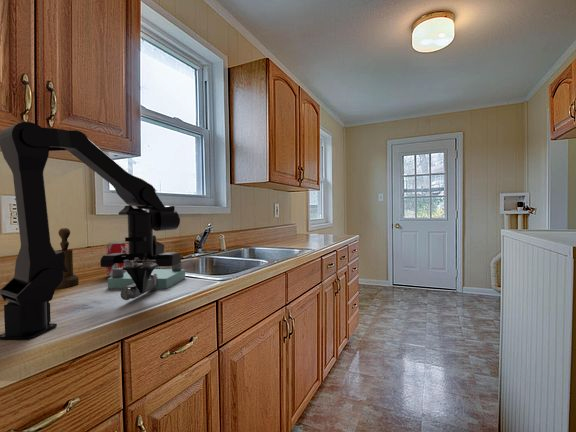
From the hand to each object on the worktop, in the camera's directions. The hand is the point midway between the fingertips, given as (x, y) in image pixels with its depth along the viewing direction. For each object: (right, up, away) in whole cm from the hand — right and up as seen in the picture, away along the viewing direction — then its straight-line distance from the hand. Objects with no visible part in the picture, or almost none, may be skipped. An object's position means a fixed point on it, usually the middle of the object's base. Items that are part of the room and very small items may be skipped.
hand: (142, 292), depth 79 cm
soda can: (-23, -2, +31) cm, 39 cm away
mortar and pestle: (-32, -2, +17) cm, 36 cm away
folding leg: (-2, -2, +4) cm, 4 cm away
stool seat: (-7, -2, +19) cm, 20 cm away
